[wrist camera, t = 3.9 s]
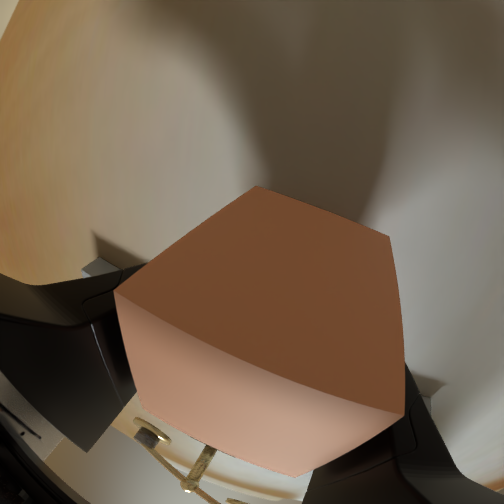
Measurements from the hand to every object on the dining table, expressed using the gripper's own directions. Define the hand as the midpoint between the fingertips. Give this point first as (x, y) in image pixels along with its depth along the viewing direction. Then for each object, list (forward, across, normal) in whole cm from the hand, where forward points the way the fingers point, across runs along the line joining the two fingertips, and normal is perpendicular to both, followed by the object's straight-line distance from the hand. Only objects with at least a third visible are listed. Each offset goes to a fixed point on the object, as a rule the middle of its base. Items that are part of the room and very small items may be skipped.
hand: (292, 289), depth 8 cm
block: (+1, 0, 0) cm, 1 cm away
